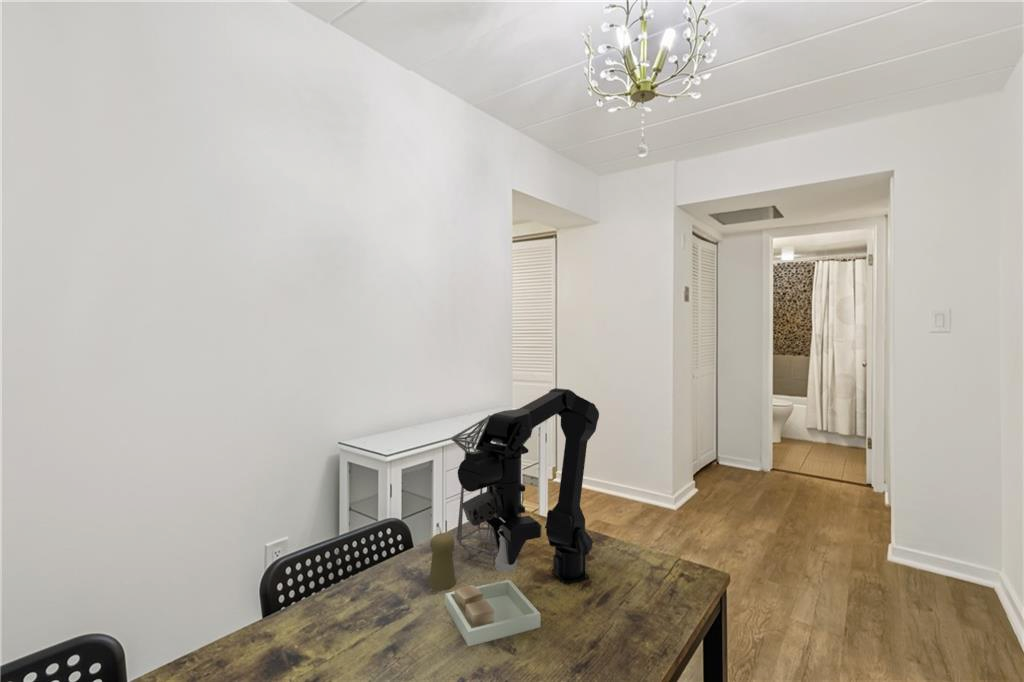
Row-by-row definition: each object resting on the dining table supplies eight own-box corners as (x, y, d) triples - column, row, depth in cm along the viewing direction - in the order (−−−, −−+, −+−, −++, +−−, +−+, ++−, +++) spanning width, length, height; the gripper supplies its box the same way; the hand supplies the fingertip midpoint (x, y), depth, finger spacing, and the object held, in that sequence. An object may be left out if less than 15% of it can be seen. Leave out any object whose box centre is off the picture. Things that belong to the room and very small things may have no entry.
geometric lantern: (445, 563, 118) (446, 416, 119) (481, 541, 132) (482, 409, 133) (502, 579, 110) (503, 421, 111) (534, 554, 124) (535, 413, 125)
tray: (509, 594, 104) (509, 579, 104) (540, 630, 92) (540, 613, 92) (445, 608, 99) (445, 593, 99) (468, 649, 86) (468, 632, 86)
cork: (450, 594, 104) (451, 542, 104) (423, 591, 105) (424, 539, 105) (459, 580, 110) (460, 531, 110) (433, 577, 111) (434, 529, 111)
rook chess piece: (520, 564, 98) (520, 524, 98) (513, 574, 93) (513, 532, 93) (499, 560, 99) (499, 521, 99) (491, 571, 95) (491, 529, 95)
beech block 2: (485, 620, 94) (485, 599, 94) (493, 632, 90) (493, 610, 90) (465, 625, 92) (465, 604, 92) (472, 637, 88) (472, 615, 88)
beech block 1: (472, 604, 99) (472, 584, 99) (482, 613, 96) (482, 593, 96) (454, 610, 97) (454, 590, 97) (464, 620, 94) (464, 599, 94)
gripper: (452, 471, 101) (451, 547, 101) (485, 499, 84) (484, 590, 84) (502, 465, 106) (501, 538, 106) (543, 491, 89) (542, 577, 89)
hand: (506, 559), depth 96 cm, fingers closed on rook chess piece, 4 cm apart
